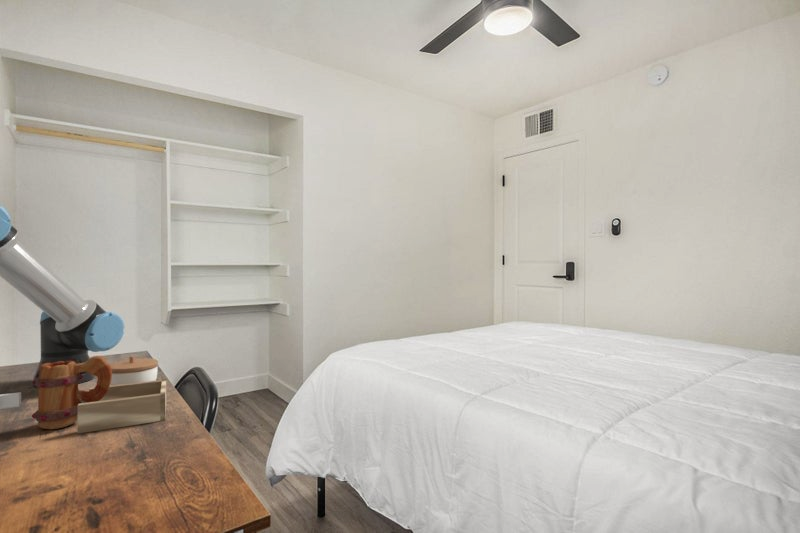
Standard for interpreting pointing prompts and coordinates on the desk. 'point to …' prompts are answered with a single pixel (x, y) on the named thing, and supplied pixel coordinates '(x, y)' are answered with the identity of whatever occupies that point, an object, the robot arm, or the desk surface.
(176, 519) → the desk surface
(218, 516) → the desk surface
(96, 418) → the wooden u-shaped frame
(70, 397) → the mug
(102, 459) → the desk surface
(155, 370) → the lidded bowl
